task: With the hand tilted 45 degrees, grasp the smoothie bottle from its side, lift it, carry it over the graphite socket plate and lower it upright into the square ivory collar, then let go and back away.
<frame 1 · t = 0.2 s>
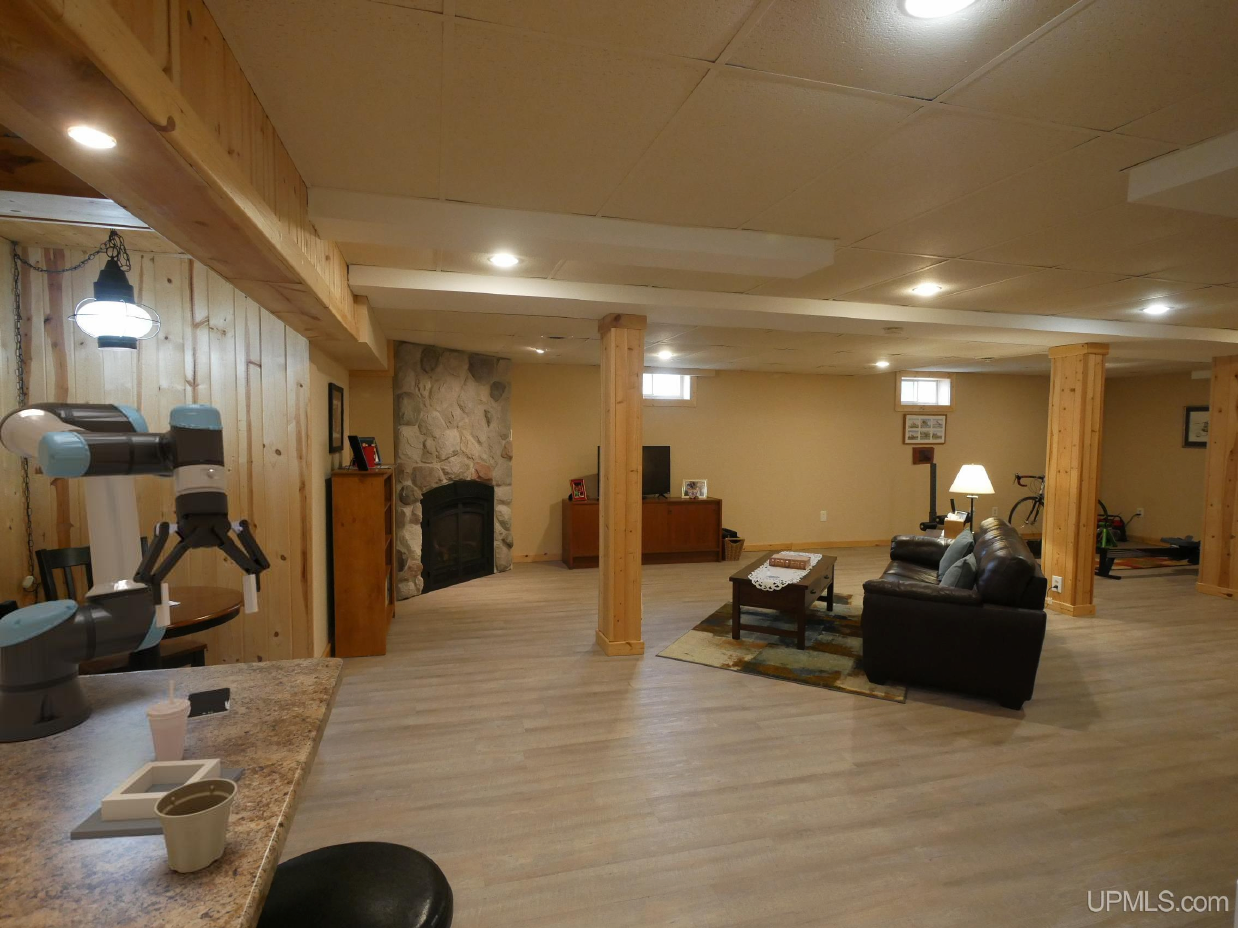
hand: (210, 619, 105), 27 cm above the countertop, tool tilted 15°, fingers open, 13 cm apart
smoothie: (169, 760, 112), on the countertop
flower pot: (198, 859, 86), on the countertop
smartphone: (208, 709, 134), on the countertop
socket: (164, 803, 99), on the countertop
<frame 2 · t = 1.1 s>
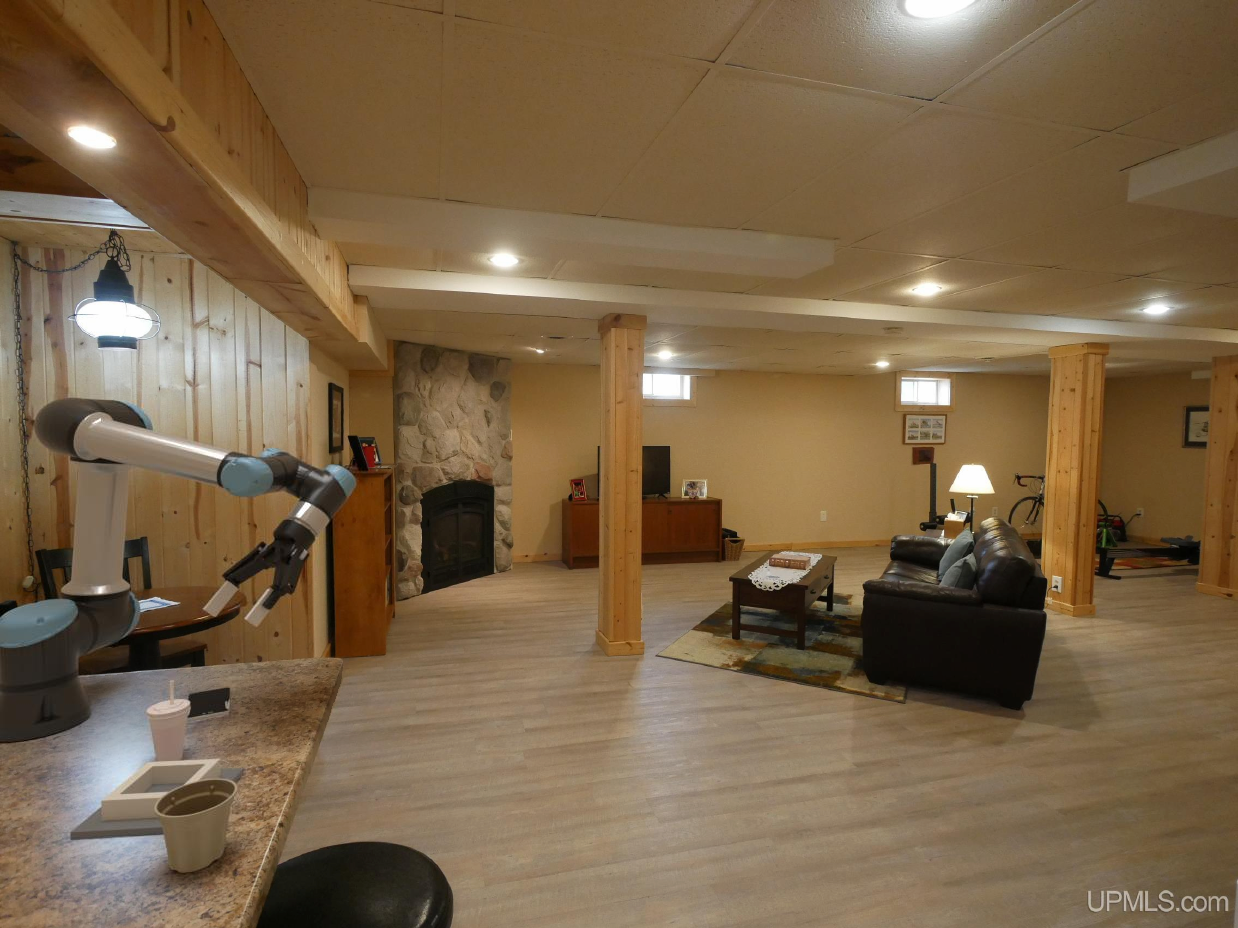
hand: (229, 618, 120), 23 cm above the countertop, tool tilted 45°, fingers open, 13 cm apart
nothing on the countertop moved.
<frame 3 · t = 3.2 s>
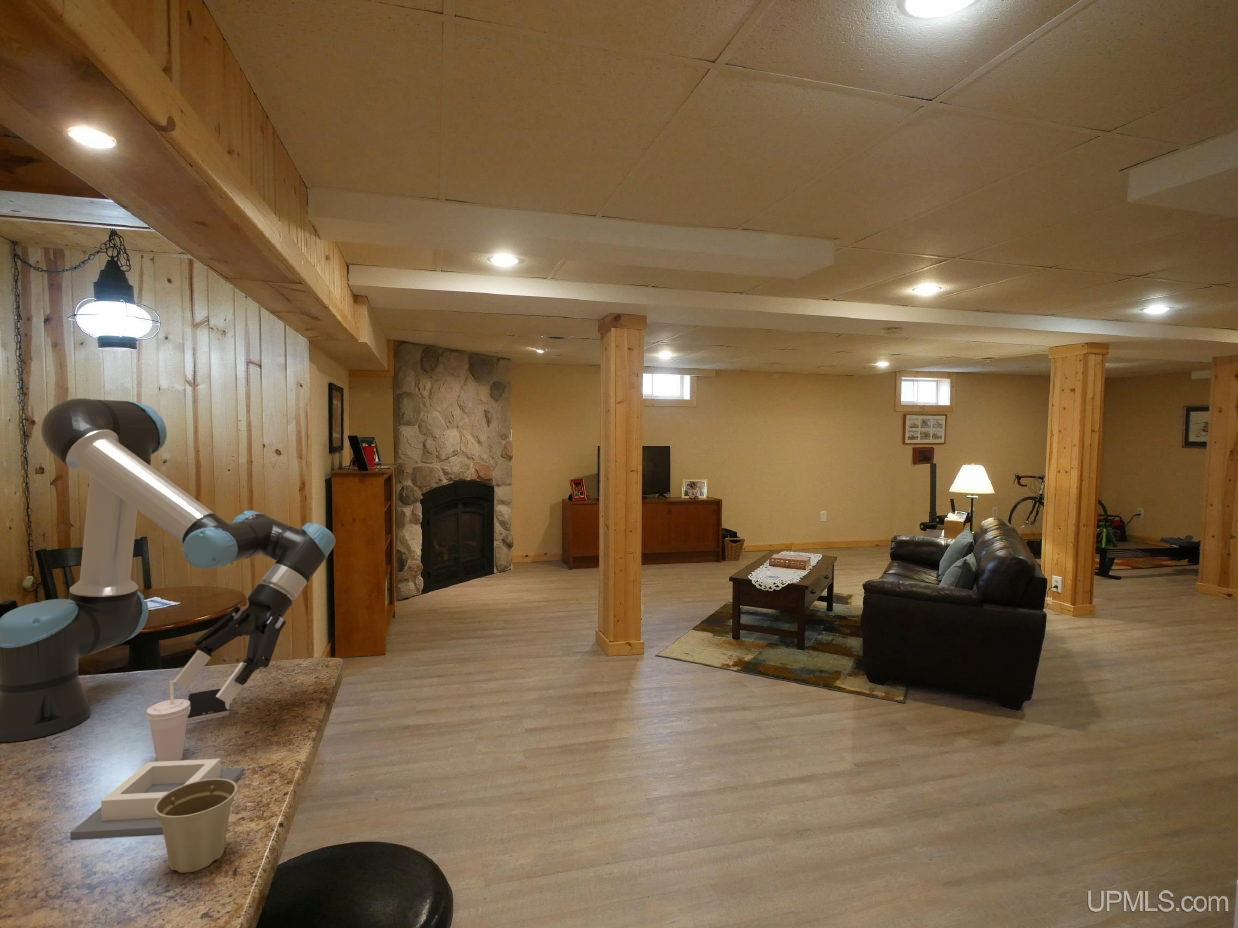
hand: (200, 692, 115), 11 cm above the countertop, tool tilted 45°, fingers open, 13 cm apart
nothing on the countertop moved.
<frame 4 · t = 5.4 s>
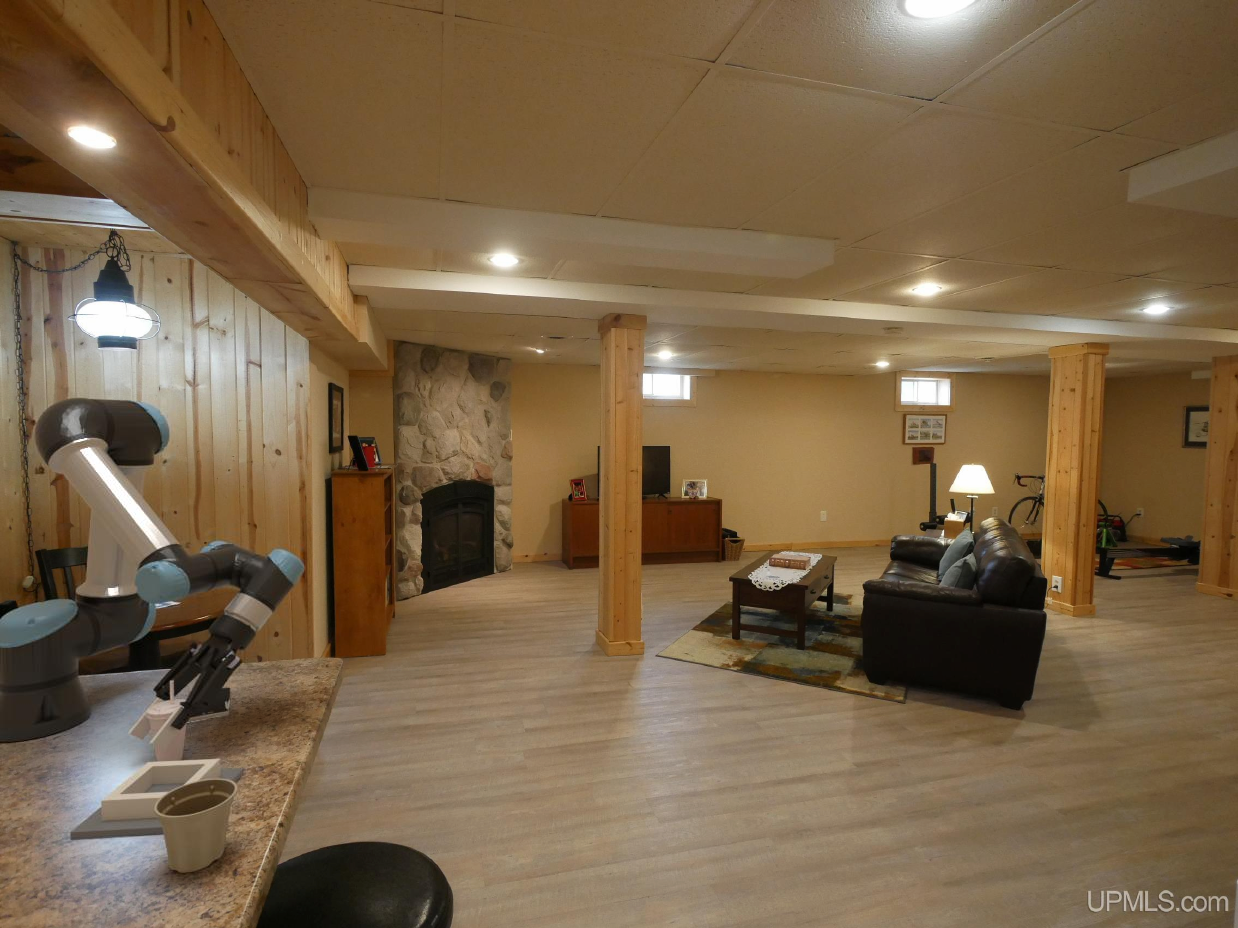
hand: (146, 740, 108), 5 cm above the countertop, tool tilted 45°, fingers closed on smoothie, 6 cm apart
smoothie: (169, 760, 112), on the countertop, touching gripper
everything else where it was.
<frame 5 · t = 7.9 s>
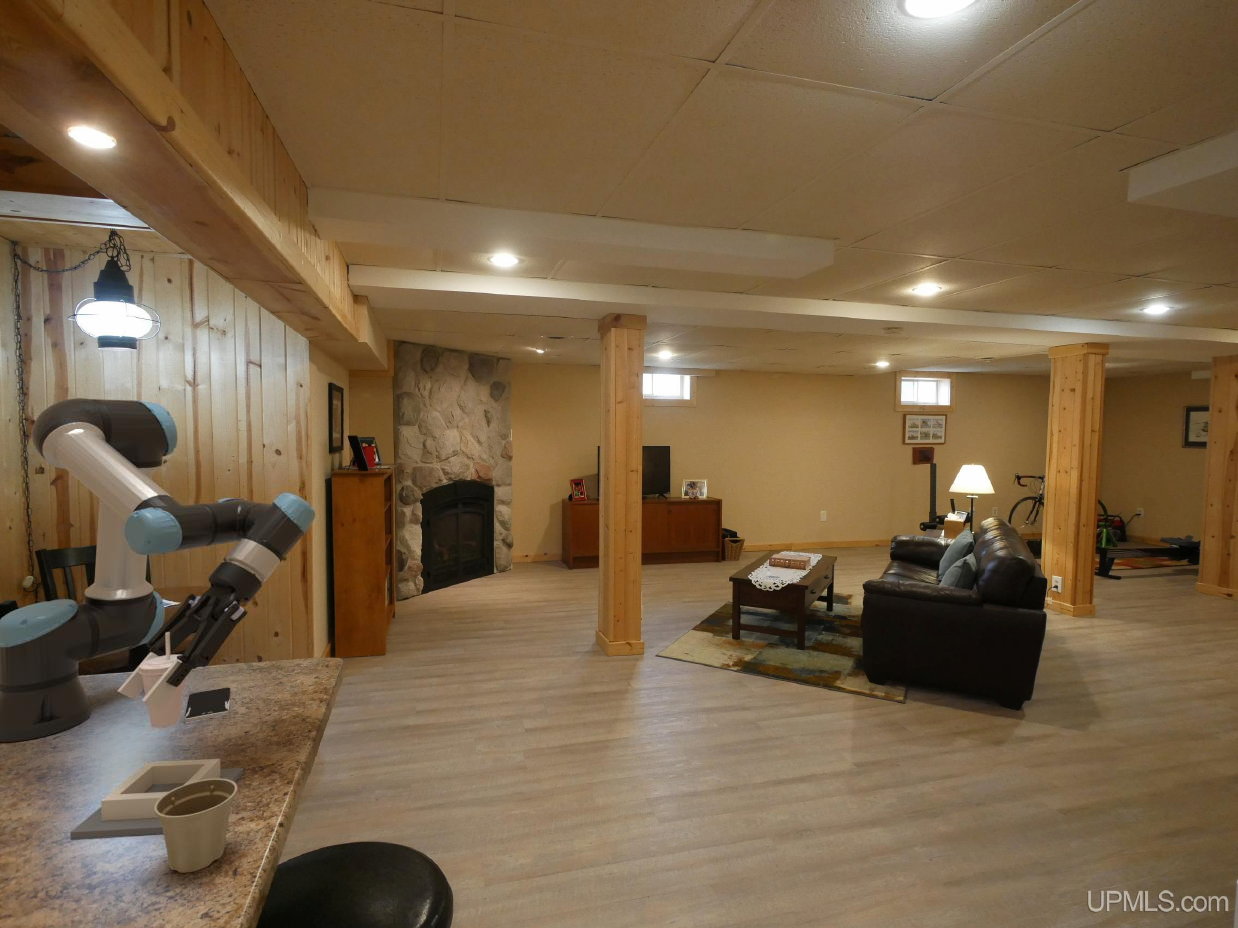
hand: (138, 699, 95), 18 cm above the countertop, tool tilted 45°, fingers closed on smoothie, 6 cm apart
smoothie: (165, 723, 98), point 12 cm above the countertop, touching gripper
everything else where it was.
when the fingers open (7 cm above the countertop, at t = 10.1 s): smoothie drops 1 cm, resting on socket.
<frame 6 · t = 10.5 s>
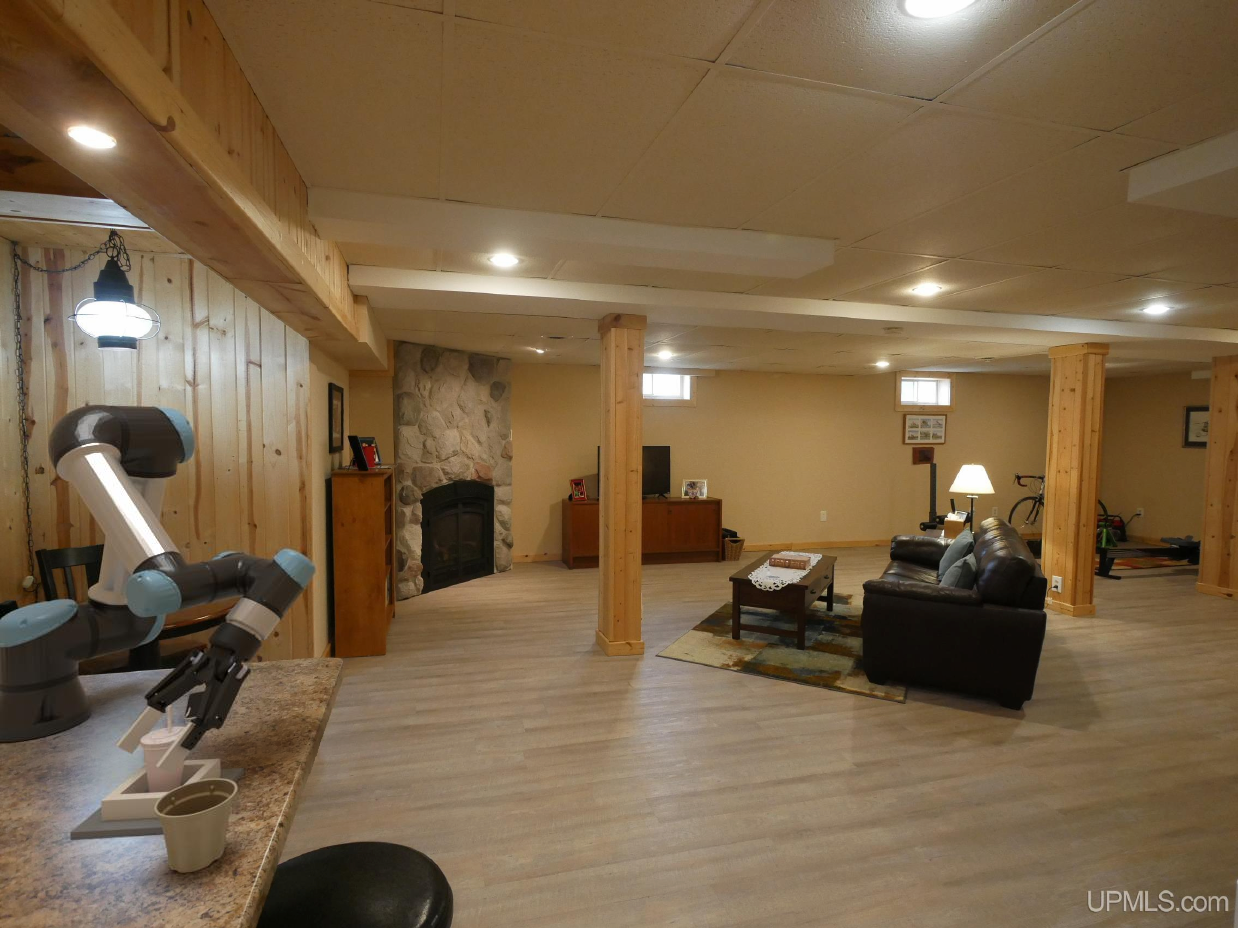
hand: (143, 759, 96), 8 cm above the countertop, tool tilted 45°, fingers open, 11 cm apart
smoothie: (165, 797, 99), point 1 cm above the countertop, touching socket
everything else where it was.
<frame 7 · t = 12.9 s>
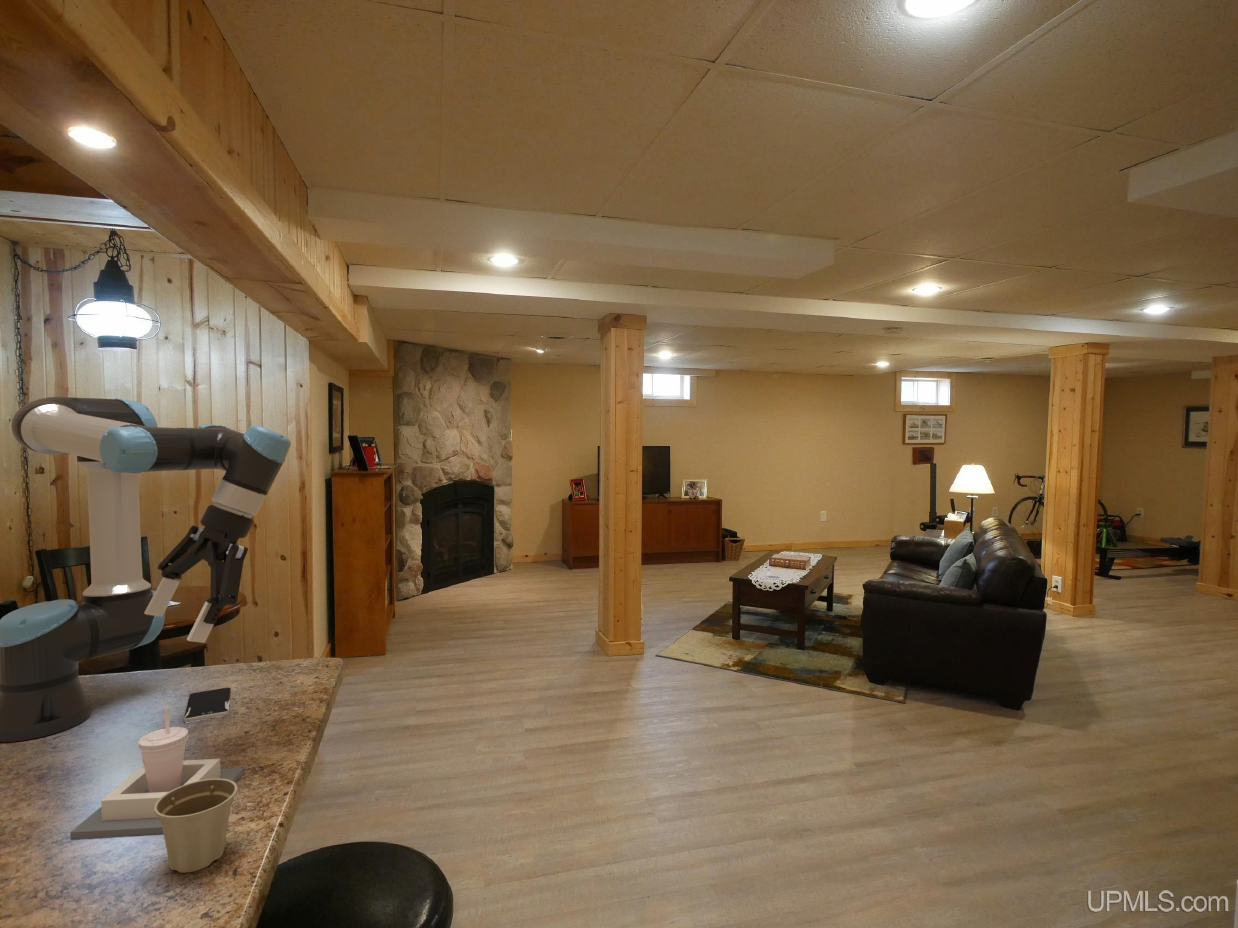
hand: (173, 627, 107), 25 cm above the countertop, tool tilted 25°, fingers open, 13 cm apart
nothing on the countertop moved.
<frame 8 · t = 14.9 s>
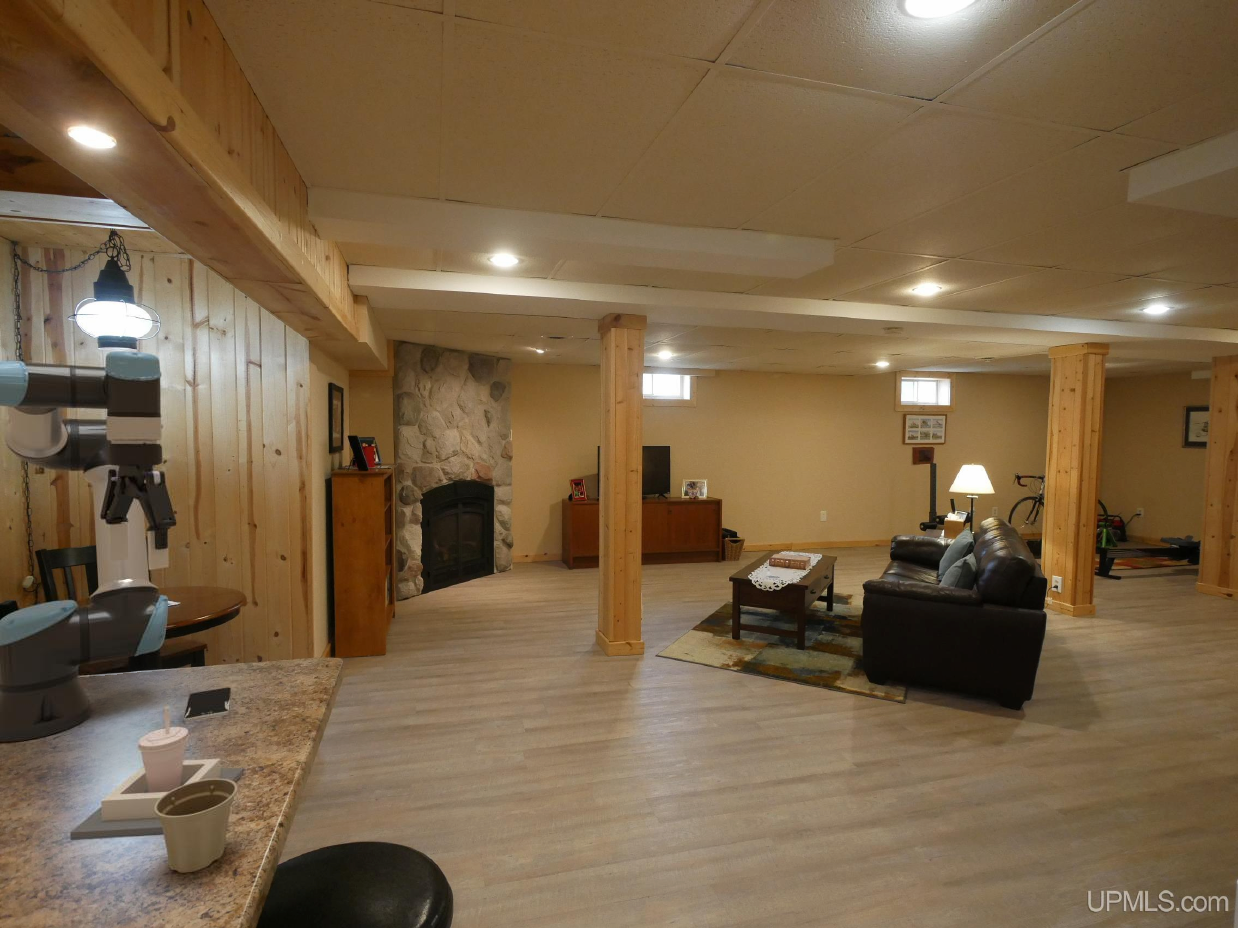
hand: (138, 564, 111), 35 cm above the countertop, tool pointing down, fingers open, 13 cm apart
nothing on the countertop moved.
at the end: smoothie 0.1 cm from the socket (horizontally); smoothie tilted 0°; smoothie point 0.8 cm above the countertop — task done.
